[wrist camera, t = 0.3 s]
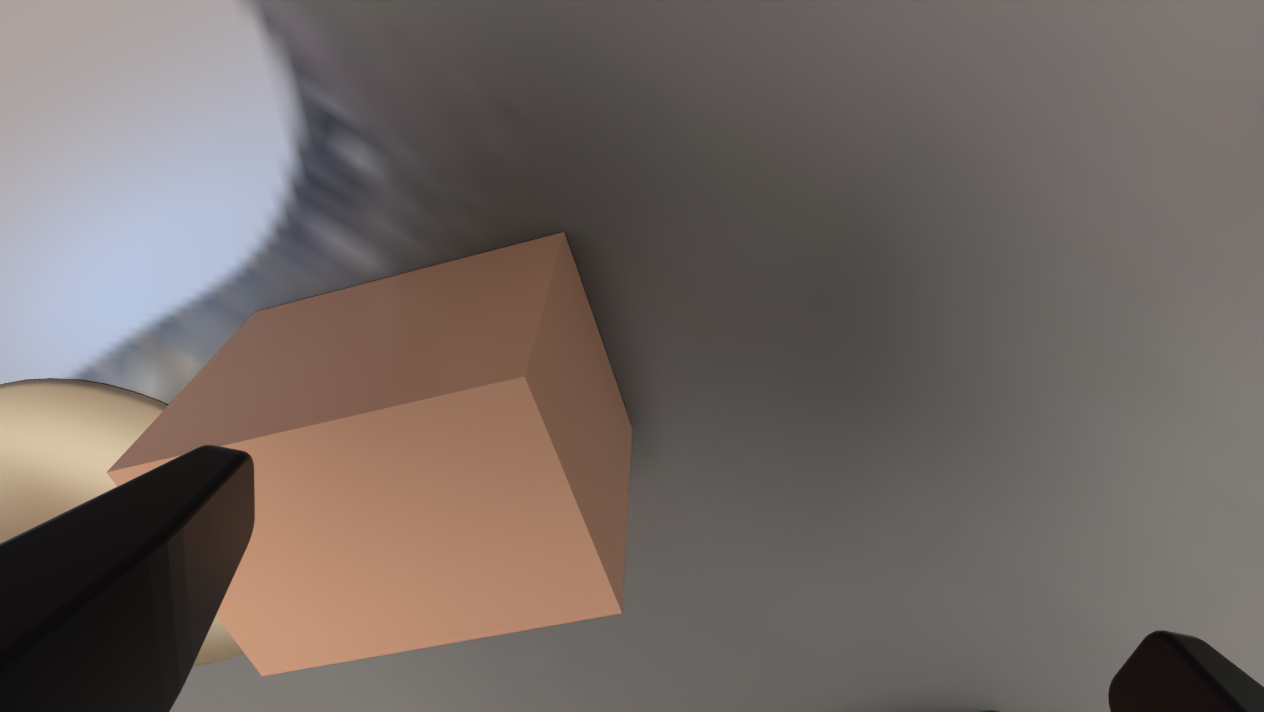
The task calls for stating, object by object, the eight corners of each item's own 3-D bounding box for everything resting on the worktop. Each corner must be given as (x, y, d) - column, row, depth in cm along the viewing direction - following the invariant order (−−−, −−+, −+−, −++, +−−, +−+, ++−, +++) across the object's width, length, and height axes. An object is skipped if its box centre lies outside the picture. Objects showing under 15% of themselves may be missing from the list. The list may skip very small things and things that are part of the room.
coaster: (363, 624, 29) (359, 636, 28) (75, 677, 31) (66, 689, 30) (179, 338, 23) (170, 347, 23) (-161, 426, 25) (-176, 435, 25)
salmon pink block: (632, 428, 24) (622, 613, 18) (355, 487, 26) (262, 676, 20) (564, 232, 21) (524, 376, 15) (254, 312, 23) (105, 472, 17)
